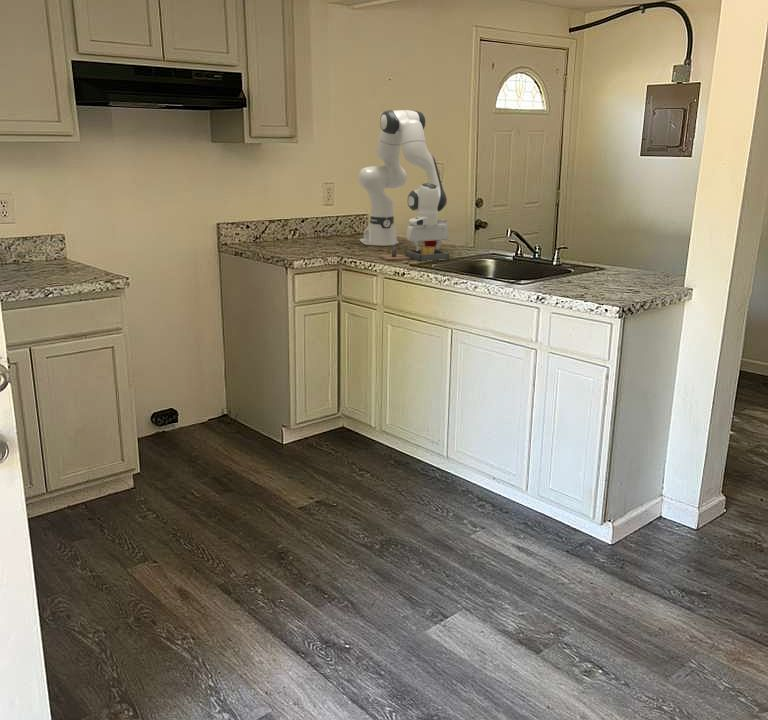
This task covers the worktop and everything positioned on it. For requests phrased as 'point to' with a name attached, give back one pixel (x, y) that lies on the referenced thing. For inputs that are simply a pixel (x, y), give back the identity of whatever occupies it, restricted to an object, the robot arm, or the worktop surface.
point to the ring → (427, 250)
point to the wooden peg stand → (393, 255)
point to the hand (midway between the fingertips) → (427, 250)
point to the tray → (427, 255)
